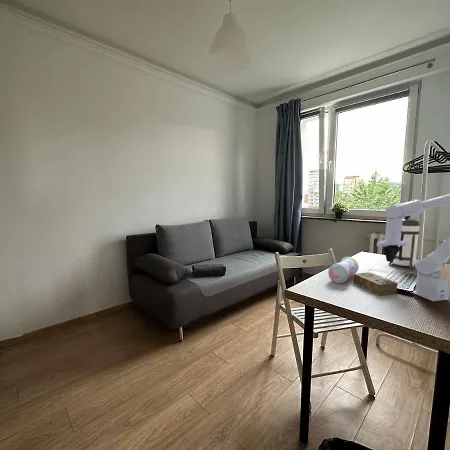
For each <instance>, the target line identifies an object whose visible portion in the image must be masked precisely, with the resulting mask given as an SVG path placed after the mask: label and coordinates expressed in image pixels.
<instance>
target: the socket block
mask: <svg viewBox="0 0 450 450" xmlns="http://www.w3.org/2000/svg"><path fill="white" fill-rule="evenodd" d="M363 274H369V275H371V277H366V276H364V275H363ZM378 280H383V281H386V282H387V283H380V282H378ZM352 284H353V285H356V286H358V287H361V288H362V289H365V290H367V291H368V292H369V293H370V292H371V293H373V294H374V295H377V296H385V295H393V294H394V295H396V294H397V293H398V282H396V281H394V280H391V279H388V278H385V277H383V276H381V275H378V274H376V273H374V272H371V271H370V272H358V273H357V272H356V273H355V274H354V275H353V276H352Z"/></svg>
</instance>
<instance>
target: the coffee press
mask: <svg viewBox="0 0 450 450" xmlns="http://www.w3.org/2000/svg"><path fill="white" fill-rule="evenodd" d="M420 227H421V223H420V221H419V220H417V219H415V218H410V216H406V217H405V216H404V217H403V221H402V229H401V237H400V241H406V242H407V243H406V246H398V247H401V250H399V252H398V253H397V254H396V256H395V258H394V260H393V262H388V266H390V267H393V266H394V265H398V266H403V267H404V266H405V267H407V268H408V270H410V271H411V270H412V271H413V270H414V269H415V268H414V267H416V262H417V252H418V243H419V236H420Z"/></svg>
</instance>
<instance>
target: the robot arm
mask: <svg viewBox="0 0 450 450" xmlns="http://www.w3.org/2000/svg"><path fill="white" fill-rule="evenodd" d="M446 205H450V193H448V194H446V195H441V196H438V197H433V198H431V199H427V200H420V199H416V198H413V199H410V201H408V202H404V203H402V202H400V203H398V204H397V205H393V204H391V205H390V206H388V207H387V208H386V209H385V211H384V213H385V216H386V225H385V234H384V239H382V241H376V247H377V248H378V247H379V248H382V250H383V251H384V255H385V259H386V262H388V263H390V262H393V260H394V258H395V256H396V254H397V253H398V252H399V250H401V247H398V246H406V243H407V242H406V241H400V237H401V229H402V221H403V218H405V217H406V216H409V217H410V216H415V215H418V214H423V213H424V212H425V211H426V209H432V208H437V207H441V206H446ZM404 216H405V217H404ZM449 259H450V236H448V237H447V239H445V240H444V241H443V243H442V242H441V244H440V245H439V246H438V247H437V248H436V249H434V251H432V252H430V253H429V254H428V255H426V257H424V258H421V259H418V260H416V263H415V270H416V271H417V273H416V284H415V285H416V286H415V289H414V291H413V292H410V293H412V294H414V295H417V296H419V297H422V298H424V299H426V300H429V301H430V302H431V301H432V302H439V301H447V300H449V299H450V298H449V297H448V296H449V288H450V287H449V286H450V283H449V281H448V279H446V278H443V276H442V274H441V271H443V269H445V266H446V263H447V262H448V261H449Z"/></svg>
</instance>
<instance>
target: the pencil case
mask: <svg viewBox="0 0 450 450" xmlns="http://www.w3.org/2000/svg"><path fill="white" fill-rule="evenodd" d="M340 260H341V261H340V262H335V263H334V264H333V263H332V264H331V266H330V267H329V268H328V273H327V274H328V276H329V278H330V280H331V281H333V282H334V283H336V284H342V283H345V282H346V281H347V280H349V279H350V278H351V277H353V276H354V274H355V273H357V272H358V271H359V263H358V261H357V260H356V259H355V258H353V257H351V256H344V257H343V258H341V259H340Z"/></svg>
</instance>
